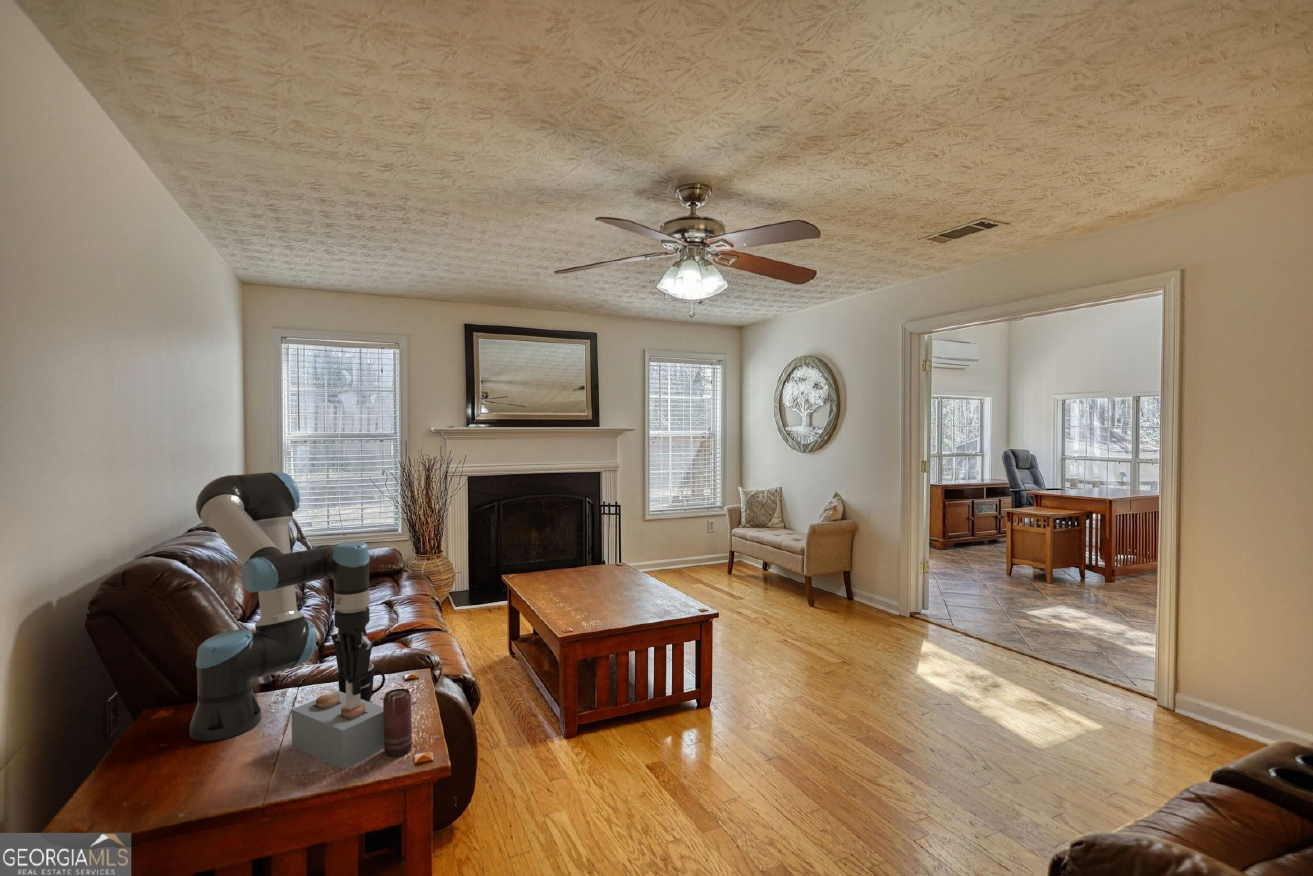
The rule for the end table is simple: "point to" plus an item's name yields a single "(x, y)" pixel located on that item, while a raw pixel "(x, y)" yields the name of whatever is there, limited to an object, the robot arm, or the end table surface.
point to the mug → (364, 683)
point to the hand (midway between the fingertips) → (353, 706)
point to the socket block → (338, 732)
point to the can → (397, 722)
